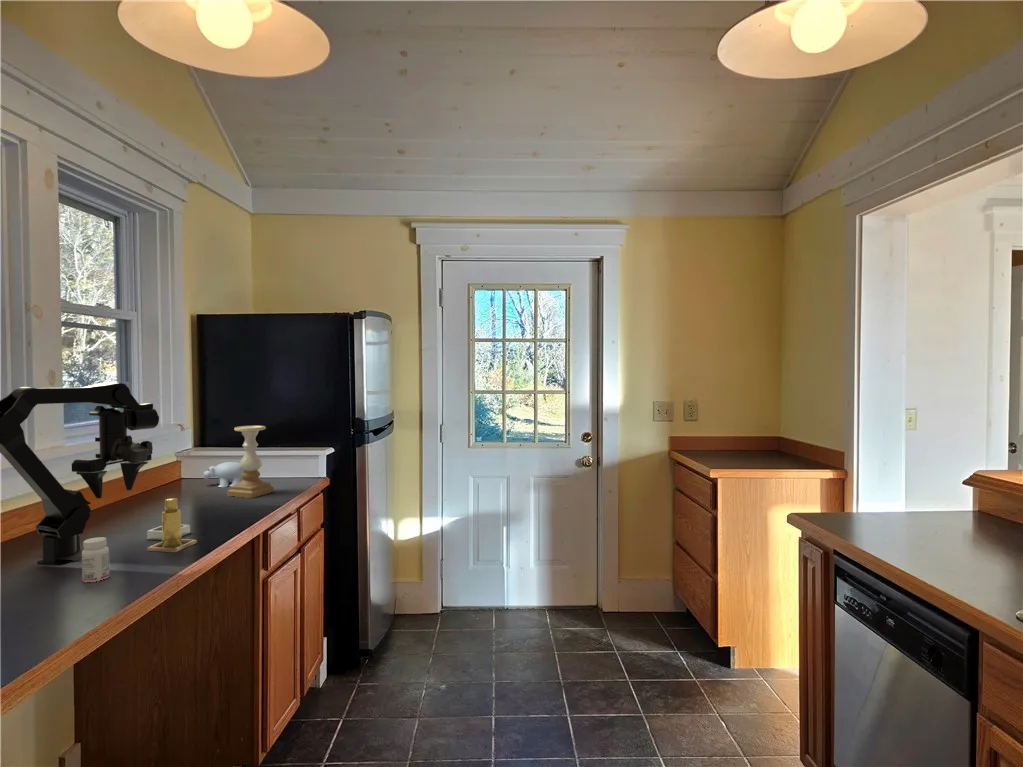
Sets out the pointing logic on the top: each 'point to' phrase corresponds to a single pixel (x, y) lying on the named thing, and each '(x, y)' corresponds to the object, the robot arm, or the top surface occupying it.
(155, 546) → the tan flat square frame
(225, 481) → the hippopotamus toy
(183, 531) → the socket
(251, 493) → the candle holder
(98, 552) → the pill bottle
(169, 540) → the gold bottle
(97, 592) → the top surface
